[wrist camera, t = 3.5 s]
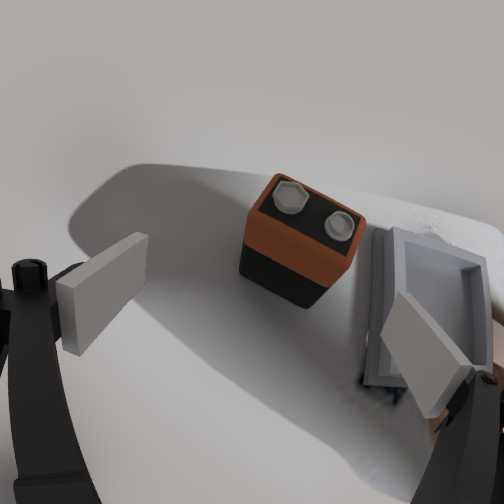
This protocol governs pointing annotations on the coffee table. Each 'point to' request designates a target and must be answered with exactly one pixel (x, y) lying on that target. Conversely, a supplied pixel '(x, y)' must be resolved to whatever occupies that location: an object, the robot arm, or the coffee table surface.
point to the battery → (298, 241)
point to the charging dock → (428, 298)
